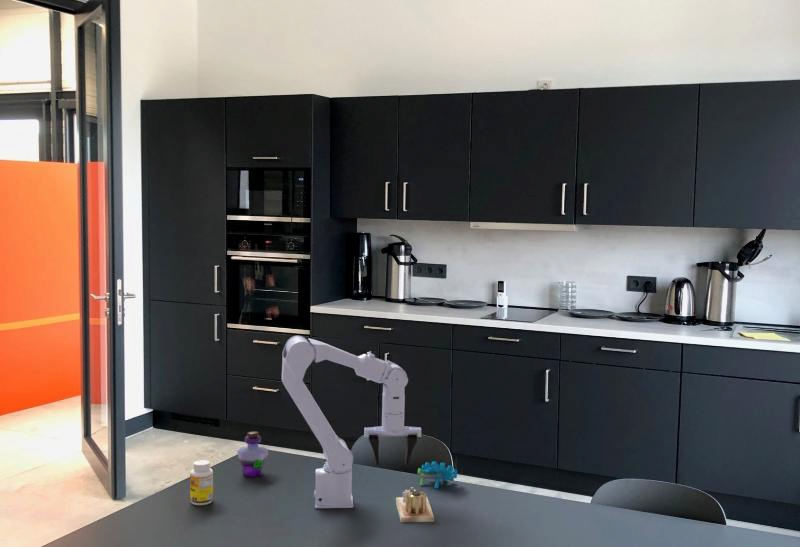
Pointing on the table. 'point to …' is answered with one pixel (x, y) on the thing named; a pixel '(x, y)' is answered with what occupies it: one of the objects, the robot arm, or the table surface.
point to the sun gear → (406, 493)
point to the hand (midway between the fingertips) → (392, 463)
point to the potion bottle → (252, 456)
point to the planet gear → (416, 501)
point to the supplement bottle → (201, 483)
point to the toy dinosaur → (436, 473)
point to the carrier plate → (413, 517)
